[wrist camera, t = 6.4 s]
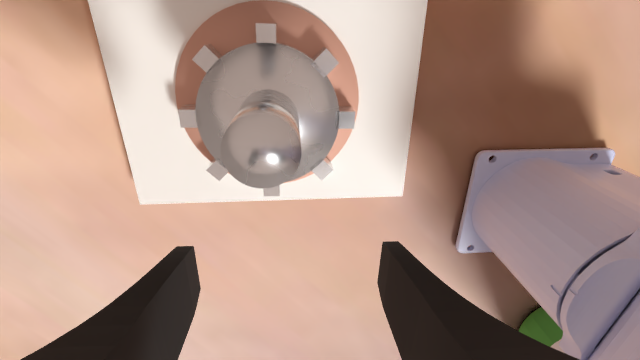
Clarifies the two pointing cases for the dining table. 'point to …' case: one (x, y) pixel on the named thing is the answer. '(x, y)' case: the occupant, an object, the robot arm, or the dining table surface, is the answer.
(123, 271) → the dining table surface
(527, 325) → the wine bottle
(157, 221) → the dining table surface
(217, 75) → the aluminium gear
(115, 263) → the dining table surface
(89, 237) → the dining table surface
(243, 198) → the gear board
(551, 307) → the robot arm
